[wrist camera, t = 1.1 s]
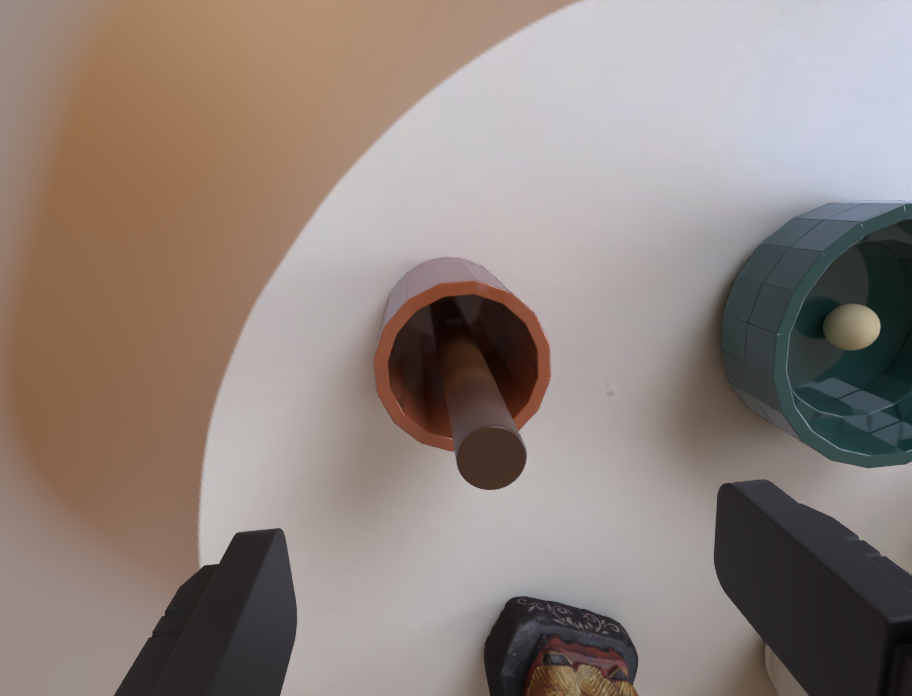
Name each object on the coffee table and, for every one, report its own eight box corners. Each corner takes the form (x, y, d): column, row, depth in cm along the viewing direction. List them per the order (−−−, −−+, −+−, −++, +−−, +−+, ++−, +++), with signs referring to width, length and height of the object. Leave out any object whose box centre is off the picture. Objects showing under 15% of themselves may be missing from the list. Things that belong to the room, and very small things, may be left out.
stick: (430, 302, 32) (453, 419, 15) (464, 299, 33) (525, 412, 15) (434, 345, 33) (459, 503, 16) (467, 342, 33) (529, 496, 16)
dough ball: (814, 301, 34) (849, 310, 31) (857, 298, 34) (896, 306, 32) (810, 345, 35) (843, 357, 32) (852, 341, 35) (889, 353, 32)
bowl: (720, 210, 33) (786, 212, 27) (951, 193, 34) (1062, 191, 28) (708, 435, 37) (763, 479, 31) (915, 415, 38) (1007, 453, 32)
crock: (378, 262, 32) (365, 289, 23) (507, 252, 33) (548, 274, 23) (391, 386, 34) (384, 459, 25) (513, 374, 35) (552, 442, 25)
